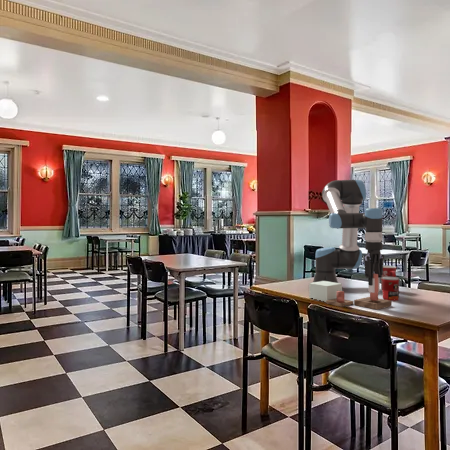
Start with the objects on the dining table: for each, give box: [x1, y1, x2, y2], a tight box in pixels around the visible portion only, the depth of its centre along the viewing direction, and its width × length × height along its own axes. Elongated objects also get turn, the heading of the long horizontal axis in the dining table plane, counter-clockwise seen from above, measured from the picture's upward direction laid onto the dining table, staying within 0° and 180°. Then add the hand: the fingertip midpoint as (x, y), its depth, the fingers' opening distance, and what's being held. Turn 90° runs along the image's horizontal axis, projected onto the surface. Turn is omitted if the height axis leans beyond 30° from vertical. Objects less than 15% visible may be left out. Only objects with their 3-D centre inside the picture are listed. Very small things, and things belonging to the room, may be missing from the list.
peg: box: [369, 274, 379, 301], centre depth 185 cm, size 4×4×12 cm
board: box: [325, 290, 354, 308], centre depth 192 cm, size 9×9×6 cm
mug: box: [380, 265, 397, 291], centre depth 224 cm, size 13×9×14 cm
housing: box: [308, 281, 343, 303], centre depth 204 cm, size 12×12×8 cm
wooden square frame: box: [353, 296, 393, 311], centre depth 188 cm, size 12×12×2 cm
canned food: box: [382, 276, 400, 302], centre depth 202 cm, size 8×8×11 cm
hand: (374, 291), depth 185 cm, fingers closed on peg, 3 cm apart
